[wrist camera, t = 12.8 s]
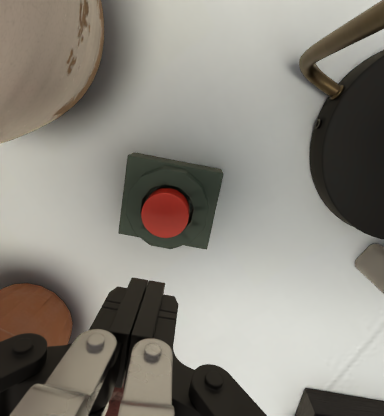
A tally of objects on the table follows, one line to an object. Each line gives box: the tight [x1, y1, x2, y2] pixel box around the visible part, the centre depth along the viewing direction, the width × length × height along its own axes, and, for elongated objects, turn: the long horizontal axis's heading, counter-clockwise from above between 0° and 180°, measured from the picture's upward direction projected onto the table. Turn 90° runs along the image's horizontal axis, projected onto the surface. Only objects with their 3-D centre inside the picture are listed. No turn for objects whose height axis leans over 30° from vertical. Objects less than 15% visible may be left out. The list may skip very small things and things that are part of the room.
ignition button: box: [141, 188, 189, 238], centre depth 23 cm, size 4×4×2 cm
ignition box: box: [119, 153, 223, 249], centre depth 25 cm, size 8×7×4 cm
